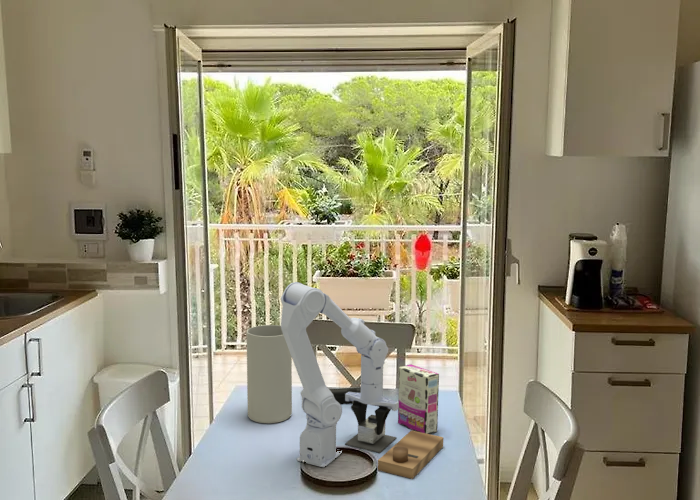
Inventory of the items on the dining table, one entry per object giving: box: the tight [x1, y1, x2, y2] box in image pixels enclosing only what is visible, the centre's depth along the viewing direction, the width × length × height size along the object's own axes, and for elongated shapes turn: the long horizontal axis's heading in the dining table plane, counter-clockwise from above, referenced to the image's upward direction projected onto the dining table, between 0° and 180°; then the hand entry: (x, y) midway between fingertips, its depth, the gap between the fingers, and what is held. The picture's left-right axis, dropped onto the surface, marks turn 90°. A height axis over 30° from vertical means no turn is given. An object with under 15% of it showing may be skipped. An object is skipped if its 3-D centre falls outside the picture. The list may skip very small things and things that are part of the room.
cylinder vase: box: [246, 324, 293, 424], centre depth 192 cm, size 12×12×25 cm
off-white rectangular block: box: [357, 414, 386, 444], centre depth 177 cm, size 7×4×5 cm, turn 152°
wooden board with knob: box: [377, 429, 444, 480], centre depth 167 cm, size 20×9×5 cm, turn 152°
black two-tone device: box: [328, 386, 361, 405], centre depth 203 cm, size 3×20×16 cm
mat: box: [344, 433, 397, 454], centre depth 177 cm, size 10×10×1 cm
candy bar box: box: [397, 364, 440, 435], centre depth 185 cm, size 11×5×16 cm, turn 39°
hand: (371, 431), depth 177 cm, fingers closed on off-white rectangular block, 4 cm apart
